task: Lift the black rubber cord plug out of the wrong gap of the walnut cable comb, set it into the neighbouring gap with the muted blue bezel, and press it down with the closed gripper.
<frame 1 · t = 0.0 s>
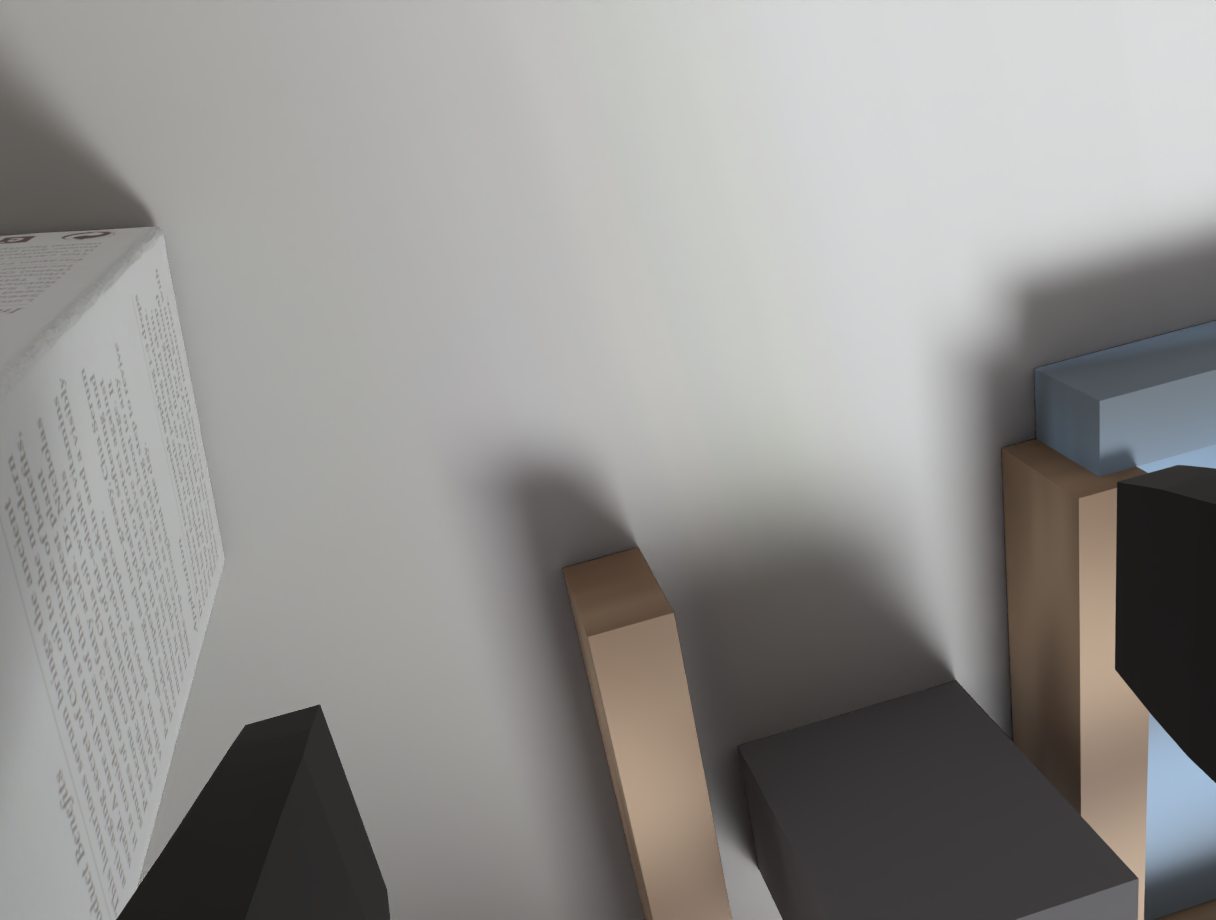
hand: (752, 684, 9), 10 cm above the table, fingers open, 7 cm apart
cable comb: (1043, 720, 24), on the table
skincare box: (66, 415, 17), on the table
cord plug: (855, 775, 23), resting in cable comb
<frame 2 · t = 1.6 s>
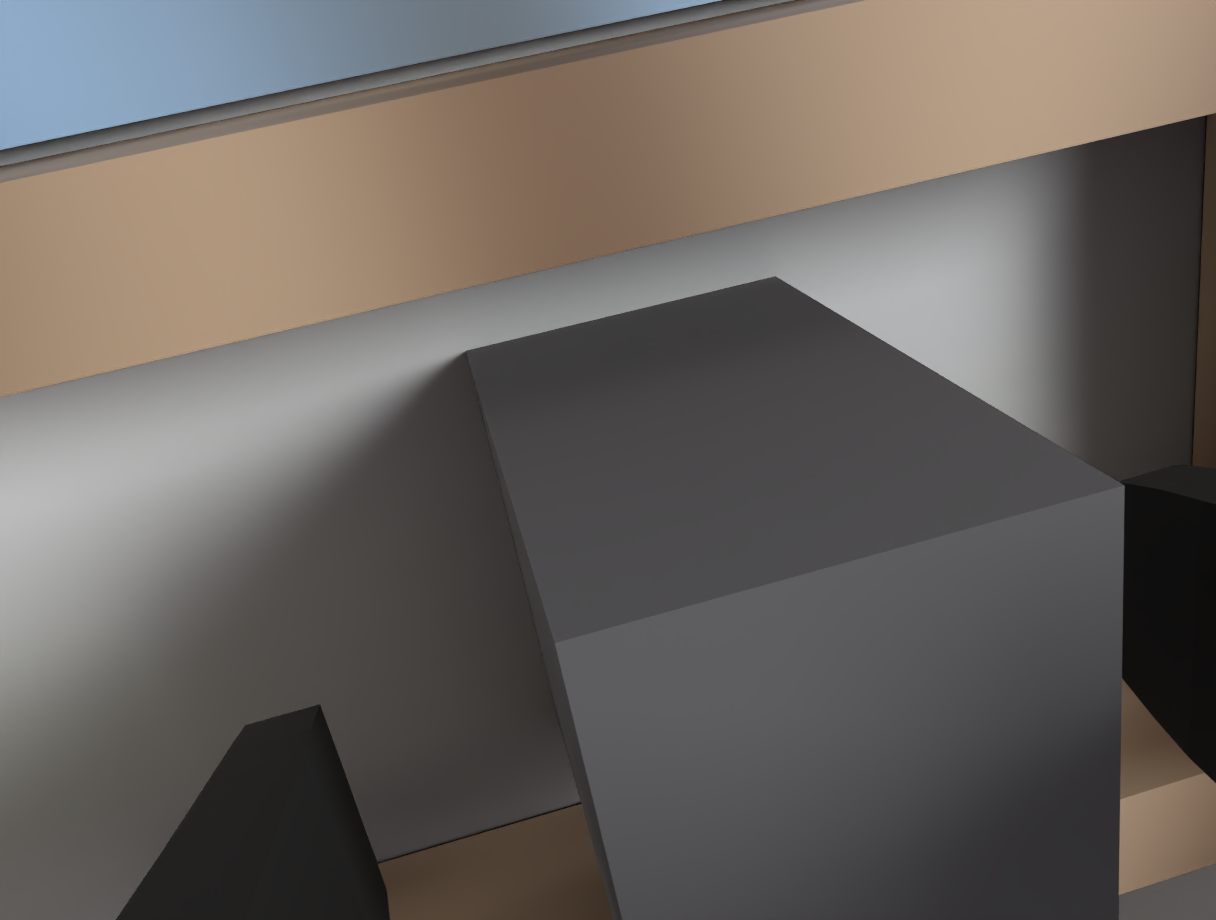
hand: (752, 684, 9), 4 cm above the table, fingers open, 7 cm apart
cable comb: (589, 124, 11), on the table
cord plug: (660, 514, 13), resting in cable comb
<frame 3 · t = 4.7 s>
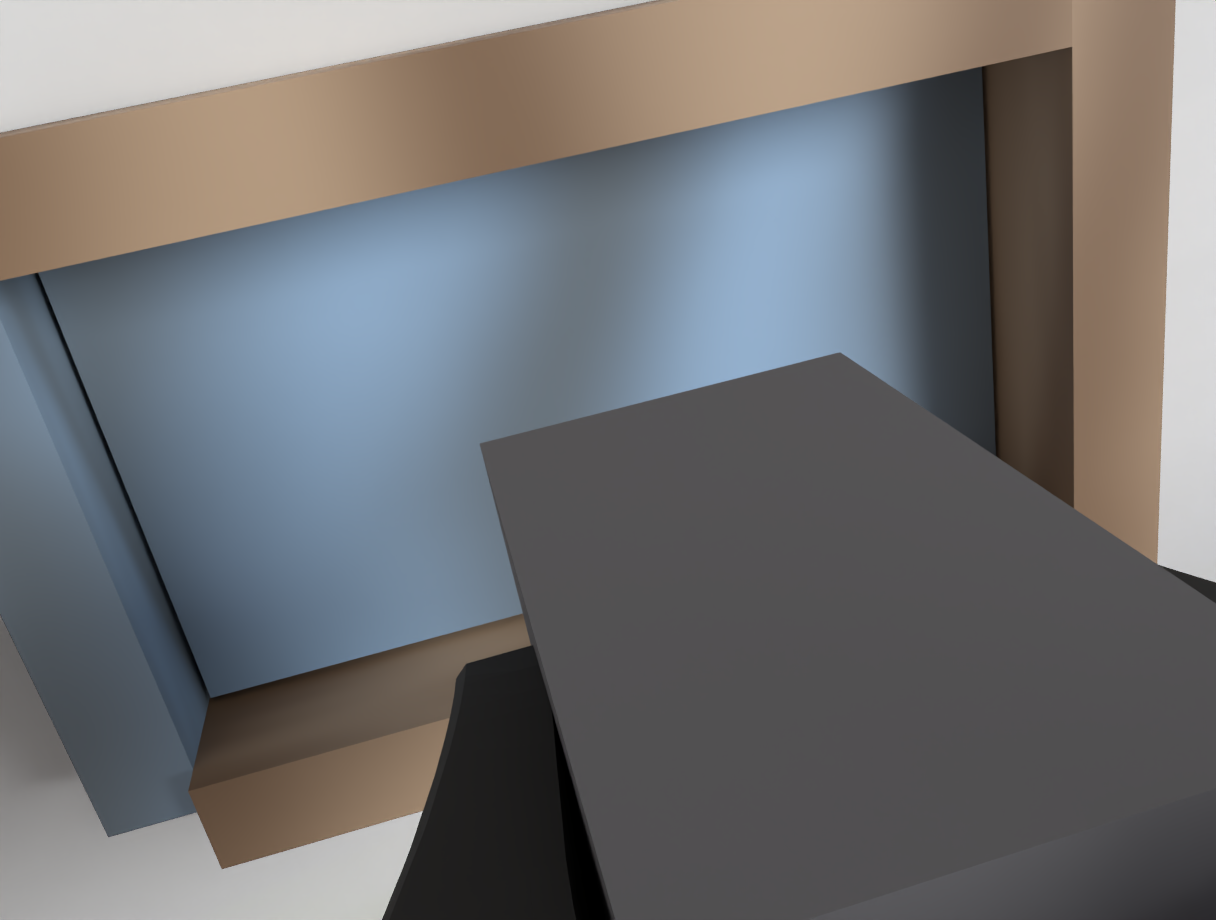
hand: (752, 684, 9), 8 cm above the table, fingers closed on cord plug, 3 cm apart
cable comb: (626, 619, 19), on the table
cord plug: (702, 622, 11), point 7 cm above the table, touching gripper
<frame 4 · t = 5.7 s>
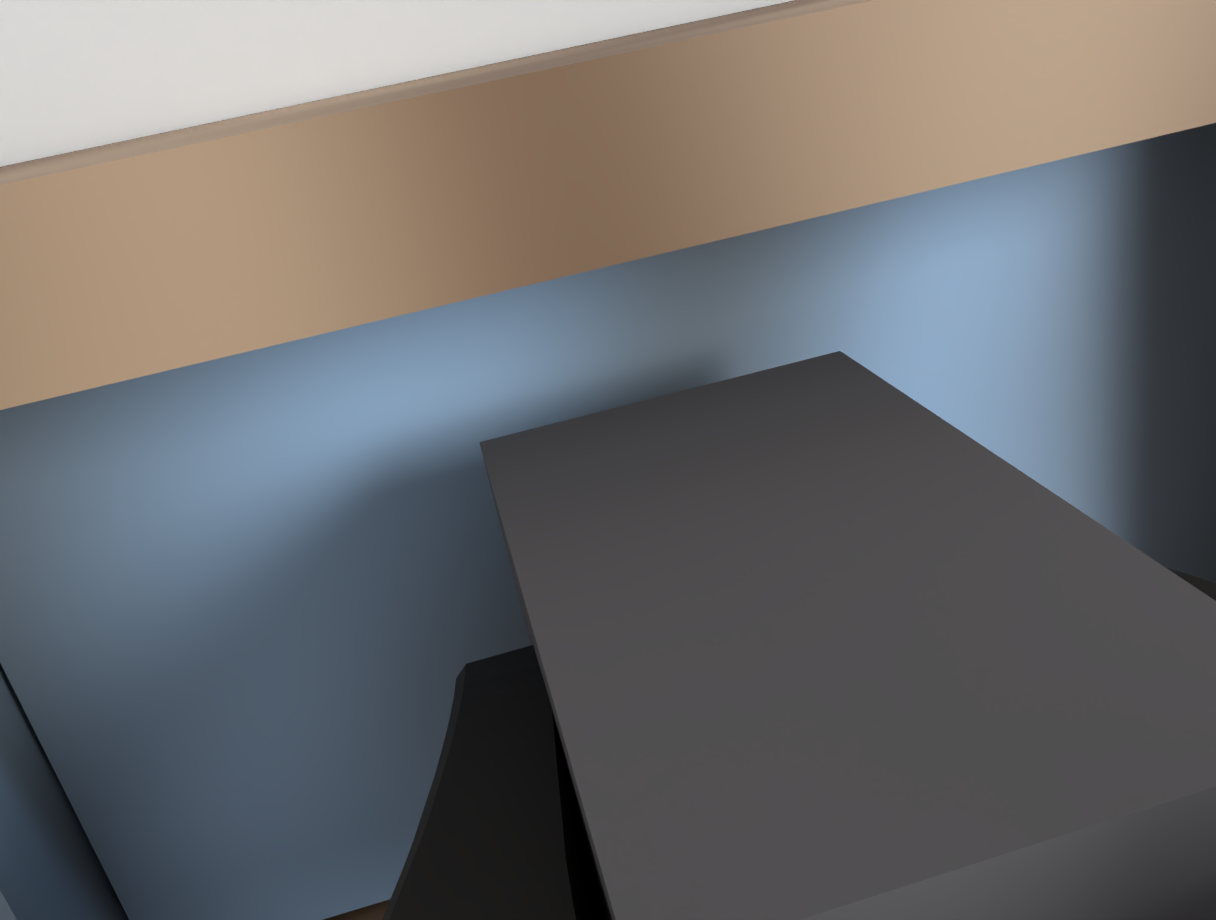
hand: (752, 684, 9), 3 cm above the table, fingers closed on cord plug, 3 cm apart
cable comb: (718, 832, 14), on the table
cord plug: (702, 621, 11), point 1 cm above the table, touching gripper
when the fingers open (3 cm above the table, at t = 6.5 s): cord plug stays where it is, resting on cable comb.
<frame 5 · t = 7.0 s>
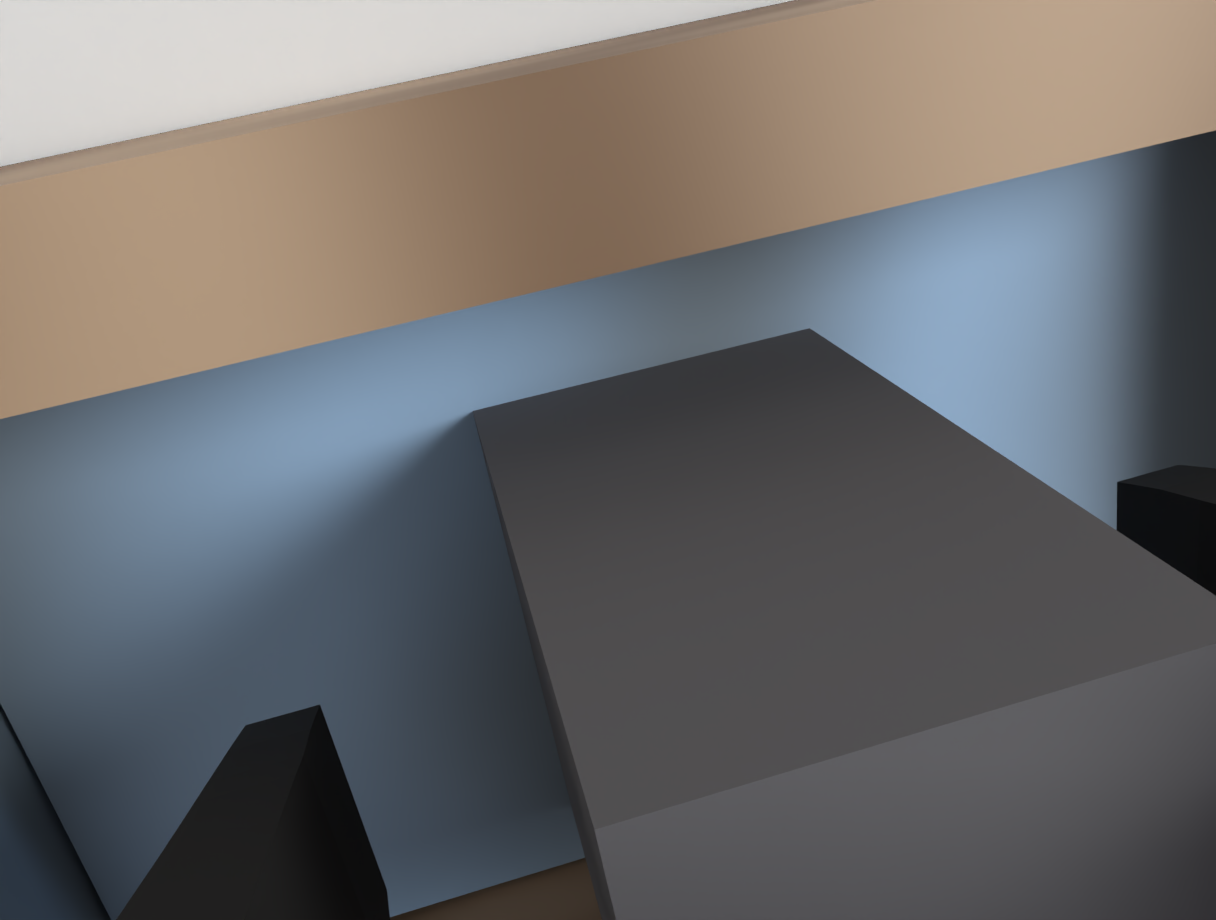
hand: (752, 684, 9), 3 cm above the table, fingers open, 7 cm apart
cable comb: (724, 847, 14), on the table
cord plug: (682, 582, 12), resting on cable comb
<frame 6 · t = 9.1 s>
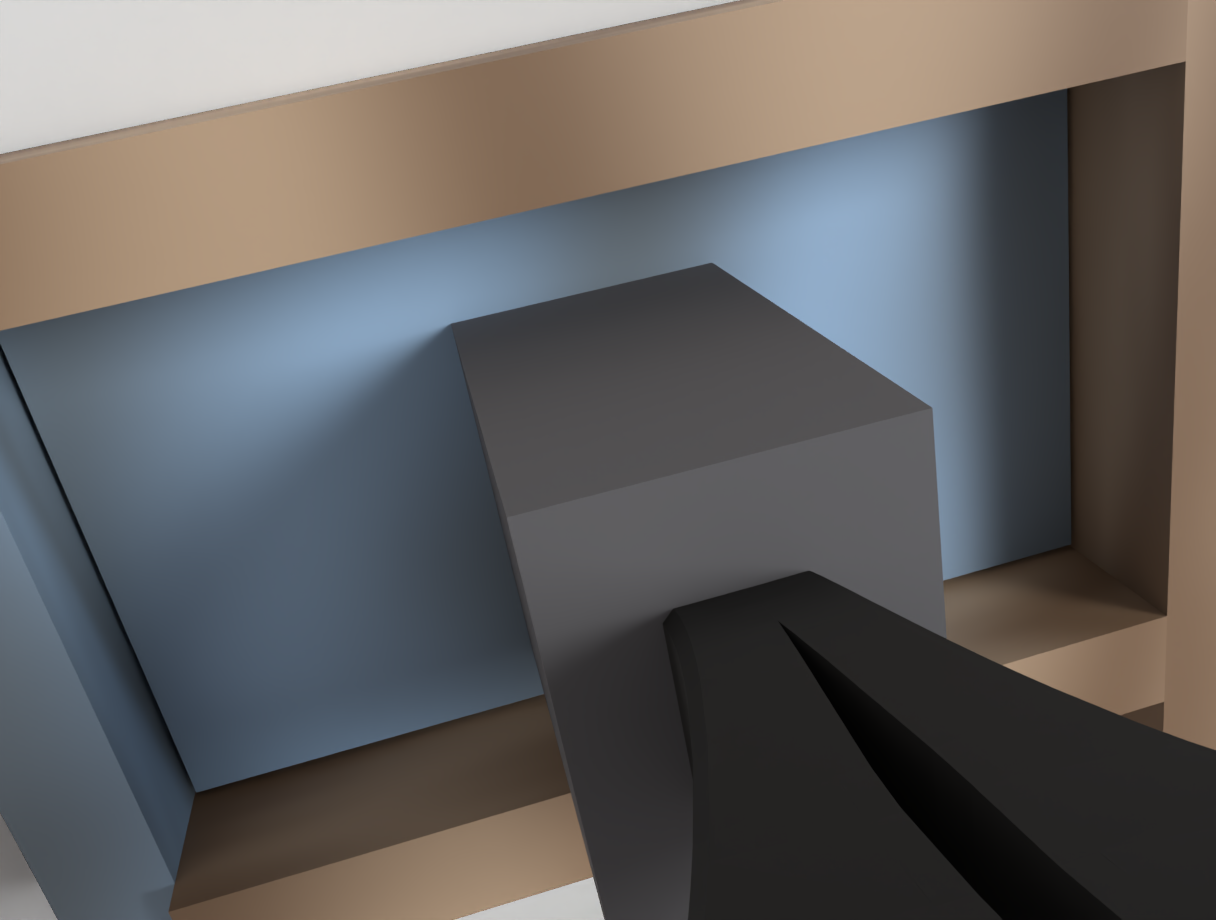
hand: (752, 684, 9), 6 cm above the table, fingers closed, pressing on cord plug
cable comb: (659, 695, 17), on the table
cord plug: (617, 465, 15), resting on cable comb, touching gripper
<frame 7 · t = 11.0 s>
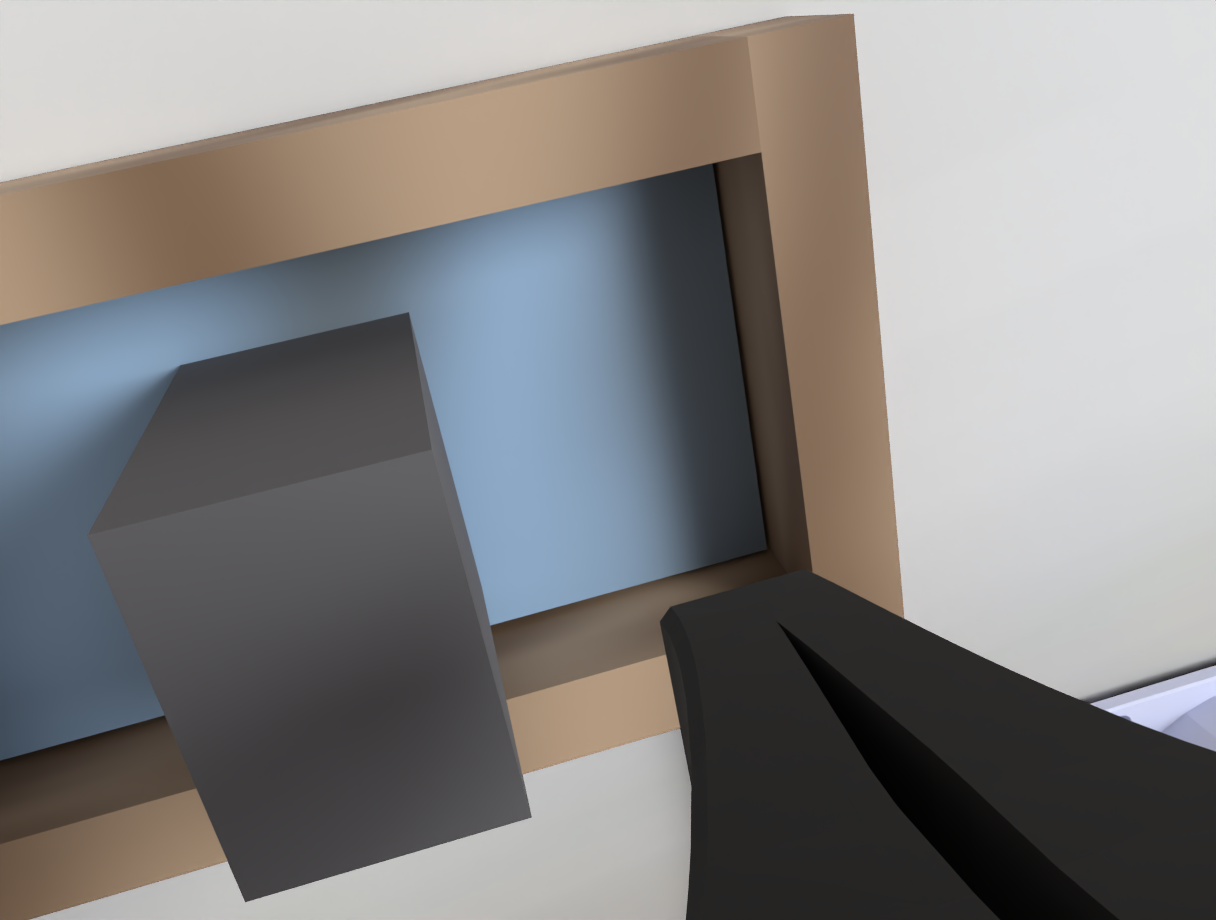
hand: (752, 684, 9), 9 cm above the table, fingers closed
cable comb: (407, 680, 19), on the table
cord plug: (341, 483, 17), resting on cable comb
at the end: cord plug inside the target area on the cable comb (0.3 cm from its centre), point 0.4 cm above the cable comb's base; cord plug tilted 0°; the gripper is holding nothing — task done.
